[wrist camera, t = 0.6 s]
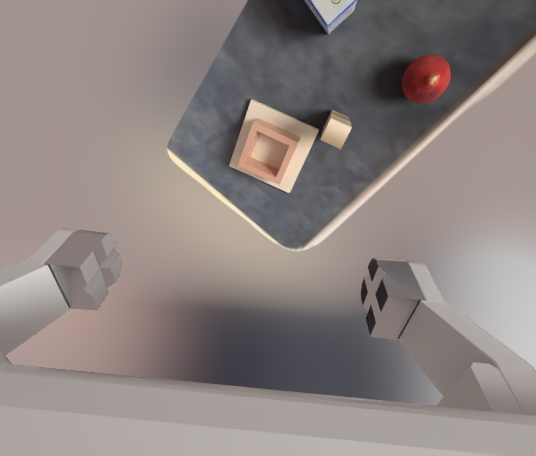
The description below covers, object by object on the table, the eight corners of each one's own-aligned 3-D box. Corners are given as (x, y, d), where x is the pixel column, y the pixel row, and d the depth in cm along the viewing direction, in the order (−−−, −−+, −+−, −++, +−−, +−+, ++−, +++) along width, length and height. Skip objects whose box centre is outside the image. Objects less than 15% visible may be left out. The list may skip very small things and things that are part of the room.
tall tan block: (331, 109, 48) (330, 118, 39) (349, 117, 48) (351, 127, 39) (323, 127, 50) (320, 139, 41) (340, 135, 50) (340, 149, 41)
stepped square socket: (252, 98, 50) (244, 101, 45) (319, 129, 50) (317, 134, 46) (230, 164, 56) (221, 172, 51) (290, 191, 56) (286, 201, 51)
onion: (438, 97, 45) (457, 102, 38) (396, 103, 46) (407, 109, 39) (442, 52, 42) (463, 49, 35) (398, 60, 43) (409, 58, 37)
